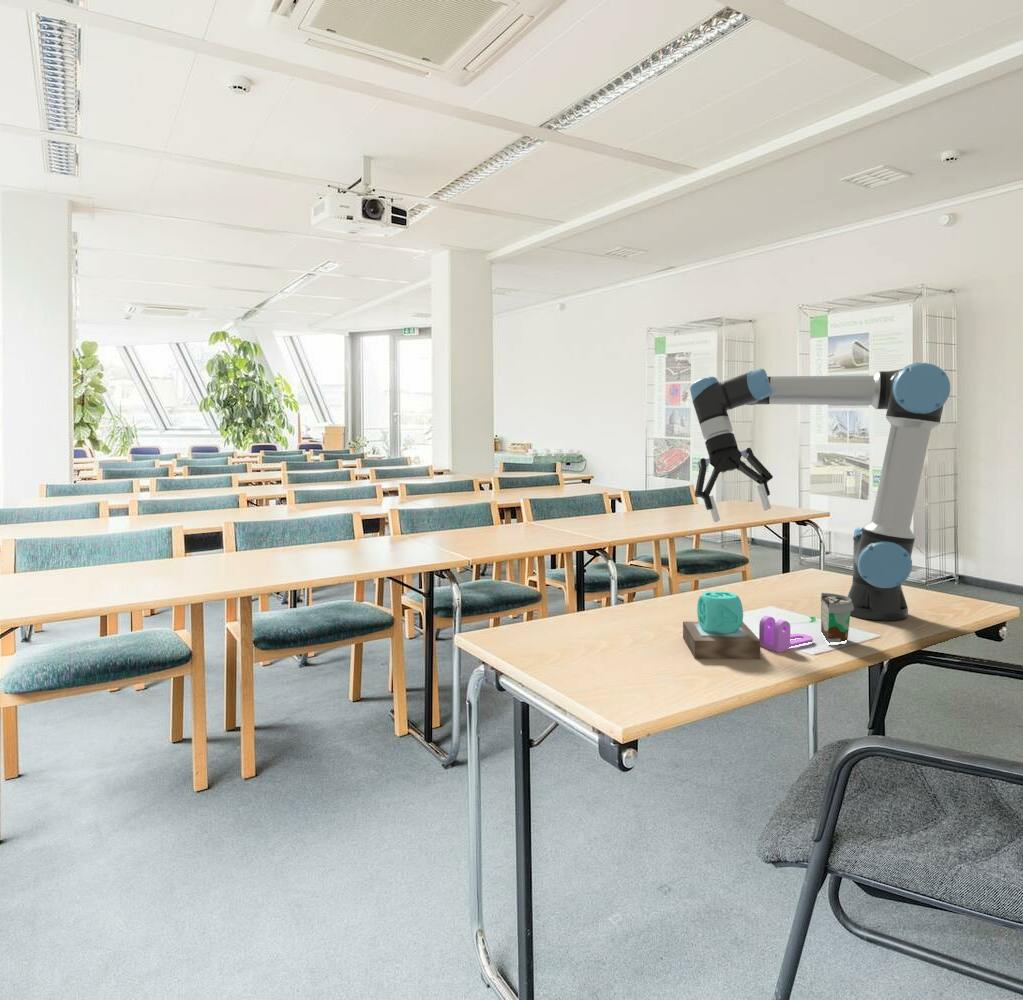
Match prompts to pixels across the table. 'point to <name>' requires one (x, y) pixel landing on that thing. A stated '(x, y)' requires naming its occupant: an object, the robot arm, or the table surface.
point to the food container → (835, 616)
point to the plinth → (721, 643)
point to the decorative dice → (720, 612)
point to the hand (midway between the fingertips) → (742, 515)
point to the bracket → (778, 635)
